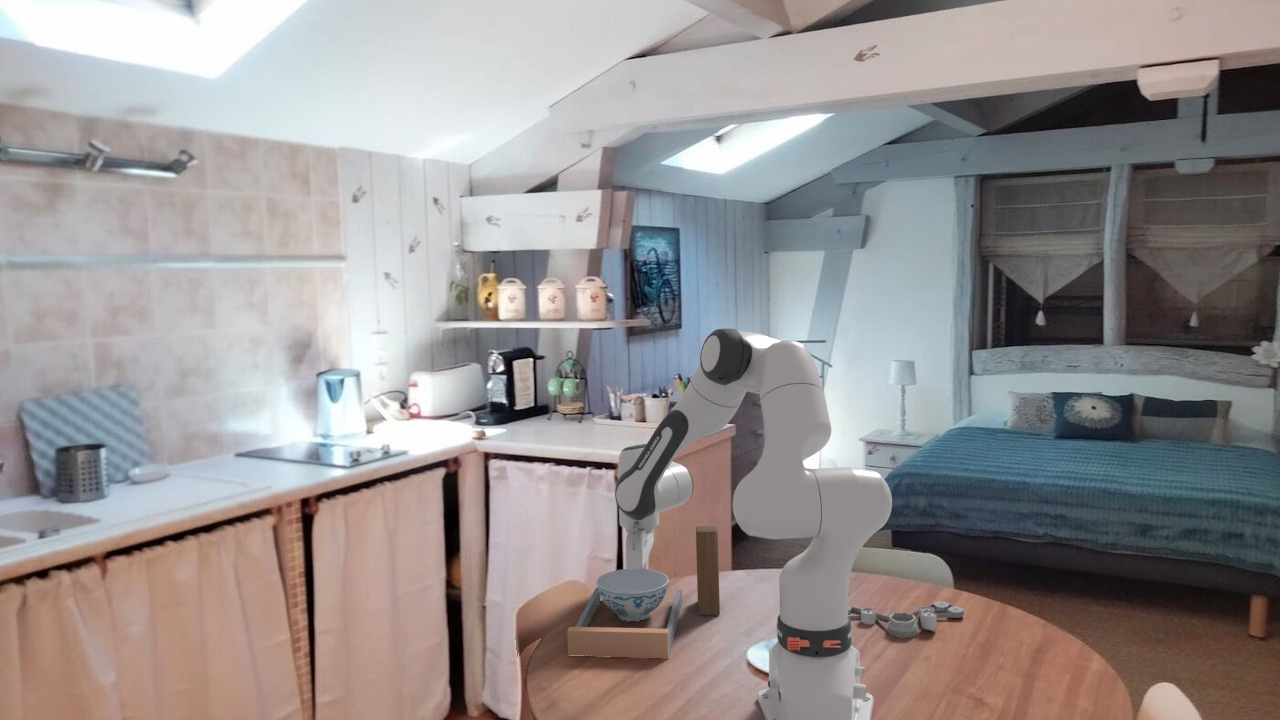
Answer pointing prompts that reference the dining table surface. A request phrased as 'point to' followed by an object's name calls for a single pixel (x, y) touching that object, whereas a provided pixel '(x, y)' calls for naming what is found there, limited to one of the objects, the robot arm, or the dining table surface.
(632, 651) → the wooden tray
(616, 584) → the chinaware
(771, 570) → the dining table surface
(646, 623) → the dining table surface
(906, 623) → the pulley system
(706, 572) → the wooden block
